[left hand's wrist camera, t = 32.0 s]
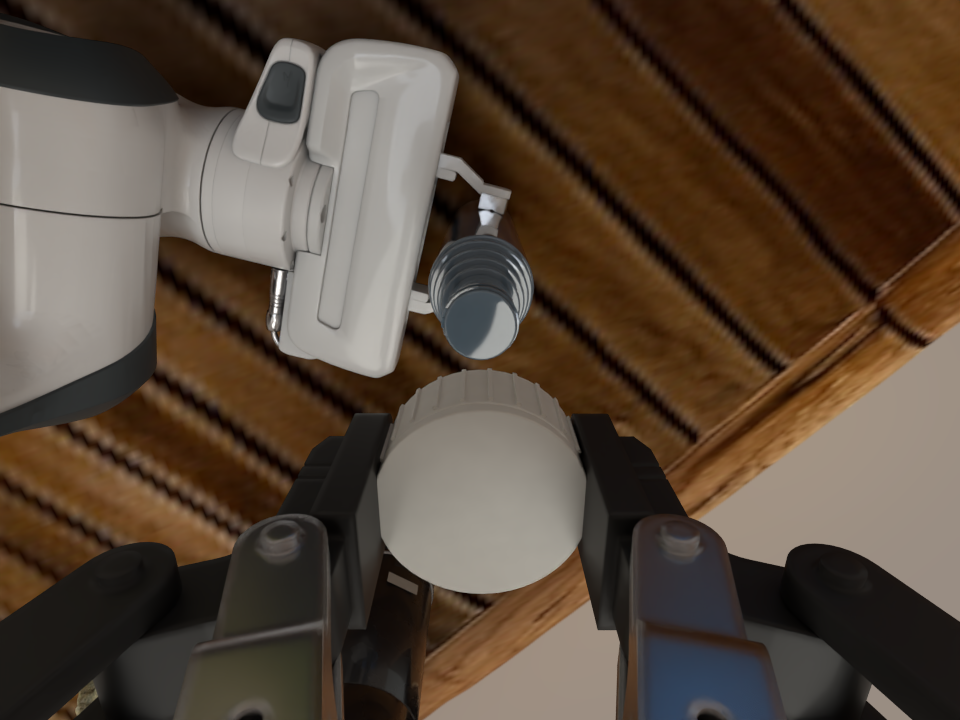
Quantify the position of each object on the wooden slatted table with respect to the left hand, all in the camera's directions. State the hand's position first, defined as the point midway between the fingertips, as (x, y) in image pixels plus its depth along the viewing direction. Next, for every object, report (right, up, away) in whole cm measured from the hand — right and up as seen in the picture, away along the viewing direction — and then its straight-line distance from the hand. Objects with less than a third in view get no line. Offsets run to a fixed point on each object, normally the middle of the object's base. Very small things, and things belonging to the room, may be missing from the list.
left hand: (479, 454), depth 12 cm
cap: (0, -1, -1) cm, 2 cm away
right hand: (+1, +9, +24) cm, 26 cm away
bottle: (0, +11, +30) cm, 32 cm away
